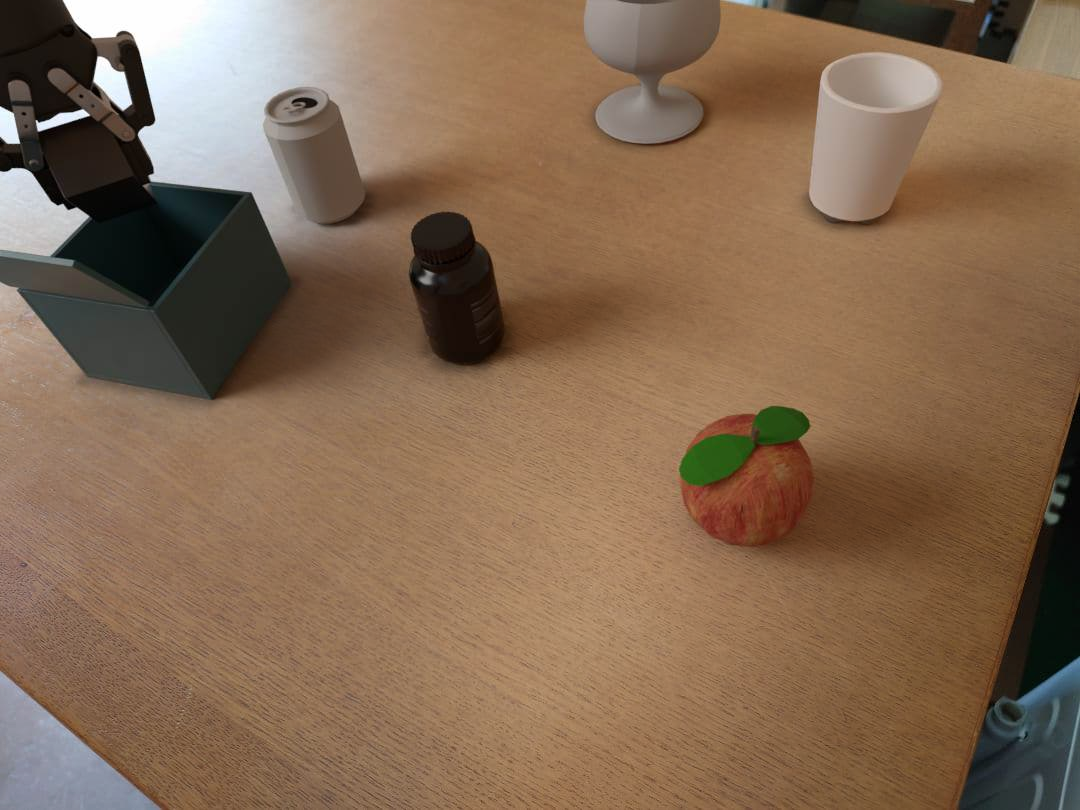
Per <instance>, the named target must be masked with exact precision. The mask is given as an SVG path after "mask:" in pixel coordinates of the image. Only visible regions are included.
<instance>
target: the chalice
mask: <svg viewBox="0 0 1080 810" xmlns="http://www.w3.org/2000/svg"><path fill="white" fill-rule="evenodd" d="M721 13H722V11H721V1H720V0H586V3H585V7H584V12H583V32H584V39H585V41H586V43H587V46H588V47H589V49H590V52H591V53H592V54H593V55H594V57H596V58H597V59H598V60H599V61H600V62H601V63H603V64H605V65H606V66H609V67H610V68H612V69H614V70H616V71H620V72H621V73H625V74H630V75H633V76H635V77H636V78H637V80H638V82H639V83H640V84H639V85H633V86H629V87H625V88H622V89H619V90H617V91H615V92H613V93H611V94H610V95H608V96H607V97H605V98H604V99H603V100H602V101H601V102H600V104H599V105H598V106H597V108H596V111H595V121H596V123H597V127H599V128H600V129H601V130H602V132H604V133H605V134H607V135H609V136H610V137H612V138H615V139H617V140H620V141H622V142H627V143H633V144H645V145H646V144H647V145H648V144H661V143H665V142H671V141H675V140H676V139H679V138H682V137H685V136H686V135H688V134H690V133H692V132H693V131H694V130H695V129H696V128H697V127H699V125H700V124H701V122H702V120H703V118H704V108H703V104H702V103H701V102H700V101H699V99H698V98H697V97H695V96H694V95H692V94H691V93H689V92H688V91H686V90H684V89H682V88H679V87H676V86H672V85H666V84H660V82H661V80H662V78H663V77H664V76H665V75H667V74H670V73H673V72H677V71H680V70H682V69H684V68H686V67H688V66H690V65H692V64H693V63H695V62H697V61H699V60H700V59H701V58H702V57H704V56H705V55H706V53H707V52H708V51H709V50H710V49H711V47H712V46H713V44H714V43H715V41H716V39H717V37H718V36H719V32H720V26H721V18H722V17H721V16H722V15H721Z"/></svg>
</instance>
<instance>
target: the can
mask: <svg viewBox="0 0 1080 810" xmlns="http://www.w3.org/2000/svg"><path fill="white" fill-rule="evenodd" d="M340 109H341V108H340V106H339V105H338V104H337V103H336V102H335V101H333V100H332V99H330V96H329V94H328V92H326V91H325V90H323V89H321V88H318V87H315V86H314V87H312V86H299V87H295V88H290V89H287V90H284V91H281V92H279V93H277V94H276V95H274V96H273V97H271V98H270V99H269V101H268V102H266V104H265V106H264V108H263V112H264V116H265V119H264V121H263V123H262V128H263V132H264V134H265V137H266V140H267V142H268V145H269V148H270V150H271V152H272V155H273V157H274V160H275V162H276V165H277V167H278V170H279V172H280V175H281V178H282V179H283V182H284V184H285V188H286V190H287V193H288V195H289V198H290V201H291V203H292V205H293V207H294V209H295V212H296V213H297V214H298V216H300V218H302V219H305V220H307V221H310V222H314V223H315V224H321V225H327V224H334V223H338V222H342V221H344V220H346V219H348V218H350V217H352V216H353V215H354V214H355V213H356V212H357V210H358V209H359V208H360V207H361V205H362V204H363V203H364V201H365V197H366V190H365V188H364V184H363V181H362V178H361V174H360V170H359V167H358V165H357V162H356V159H355V155H354V152H353V148H352V145H351V142H350V138H349V135H348V132H347V129H346V126H345V122H344V119H343V117H342V113H341V110H340Z"/></svg>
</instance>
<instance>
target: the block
mask: <svg viewBox="0 0 1080 810" xmlns="http://www.w3.org/2000/svg"><path fill="white" fill-rule="evenodd" d="M38 135H39V140H40V146H41V151H42V154H43V156H44V158H45V160H46V162H47V164H48V166H49V168H50V170H51V172H52V174H53V176H54V178H55V180H56V182H57V184H58V186H59V188H60V190H61V192H62V194H63V196H64V198H65V199H66V200H67V201H69V202H70V203H72V204H73V205H74V206H76V207H77V208H76V209H78V210H79V211H81V212H82V213H84V214H85V215H87V216H88V217H91V218H92V219H94V220H95V221H96V222H98V223H102V222H105V221H108V220H111V219H114V218H117V217H120V216H123V215H126V214H128V213H131V212H134V211H137V210H140V209H143V208H146V207H149V206H152V205H155V204H157V203H158V201H157V199H156V197H155V195H154V193H153V191H152V189H151V187H150V184H149V183H148V184H146V185H142V184H141V182H140V180H139V178H138V177H137V175H136V173H135V171H134V170H133V168H132V166H131V164H130V163H129V161H128V159H127V157H126V155H125V154H124V152H123V150H122V148H121V147H120V144H119V141H118V138H117V136H116V135H115V134H114V133H113V132H111V131H110V130H109V129H108V128H107V127H106V126H105V125H103V124H102V123H101V122H98V121H96V120H95V119H94V118H93V117H92V116H90V115H87V116H84V117H81V118H78V119H77V118H76V119H74V120H71V121H68V122H64V123H61V124H59V125H55V126H52V127H48V128H45V129H42V130H38Z"/></svg>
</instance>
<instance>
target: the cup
mask: <svg viewBox="0 0 1080 810" xmlns="http://www.w3.org/2000/svg"><path fill="white" fill-rule="evenodd" d="M943 91H944V81H943V79H942V76H940V74H939V73H938V72H937V71H936V70H935V69H934V68H933V67H932V66H931V65H929V64H927V63H925V62H923V61H921V60H919V59H916V58H913V57H910V56H908V55H904V54H897V53H894V52H893V53H892V52H884V51H883V52H881V51H872V52H871V51H870V52H860V53H856V54H850V55H847V56H845V57H842V58H839V59H837V60H834V61H833V62H831V63H829V64H827V65H826V66H825V68H824V70H823V71H822V72H821V77H820V82H819V90H818V100H817V111H816V121H815V131H814V140H813V150H812V151H813V152H812V159H811V160H812V161H811V172H810V181H809V191H808V196H809V197H808V198H809V202H810V204H812V205H813V206H814V207H815V208H816V209H817V210H818V211H819V212H820V213H821V214H822V216H823V217H824V218H825V219H826V220H827V222H830V223H832V224H834V223H836V224H837V223H840V222H858V223H860V224H861V225H867V226H869V225H871V224H873V223H874V222H875V221H876V220H878V219H880V217H882V216H883V215H884V214H885V213H887V212H888V211H890V208H891V206H892V205H893V203H894V200H895V198H896V196H897V194H898V191H899V189H900V187H901V185H902V182H903V180H904V178H905V176H906V173H907V172H908V169H909V168H910V165H911V163H912V160H913V158H914V156H915V153H916V151H917V149H918V147H919V145H920V143H921V140H922V138H923V136H924V134H925V131H926V129H927V127H928V124H929V122H930V120H931V118H932V115H933V114H934V111H935V109H936V107H937V104H938V102H939V100H940V98H941V96H942V93H943Z"/></svg>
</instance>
